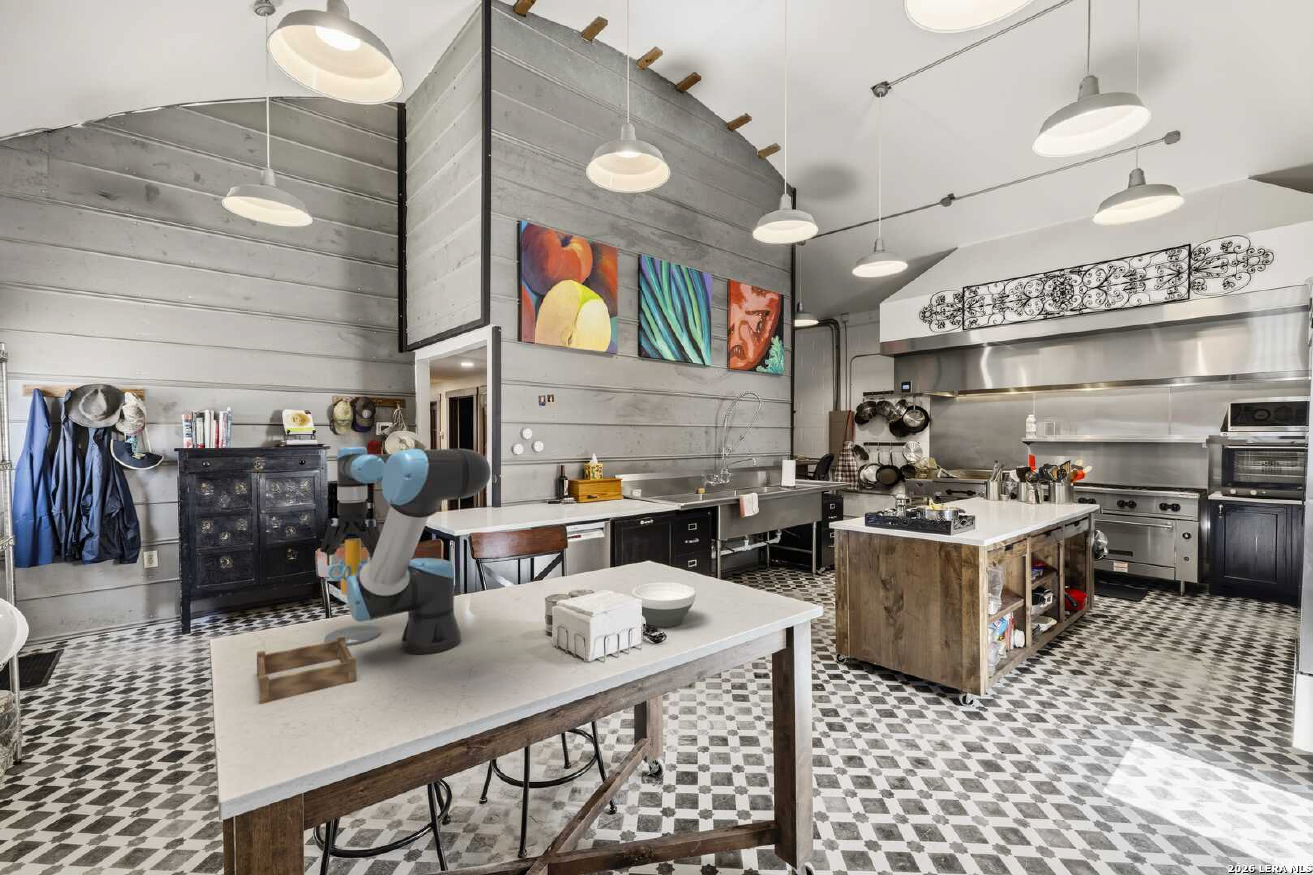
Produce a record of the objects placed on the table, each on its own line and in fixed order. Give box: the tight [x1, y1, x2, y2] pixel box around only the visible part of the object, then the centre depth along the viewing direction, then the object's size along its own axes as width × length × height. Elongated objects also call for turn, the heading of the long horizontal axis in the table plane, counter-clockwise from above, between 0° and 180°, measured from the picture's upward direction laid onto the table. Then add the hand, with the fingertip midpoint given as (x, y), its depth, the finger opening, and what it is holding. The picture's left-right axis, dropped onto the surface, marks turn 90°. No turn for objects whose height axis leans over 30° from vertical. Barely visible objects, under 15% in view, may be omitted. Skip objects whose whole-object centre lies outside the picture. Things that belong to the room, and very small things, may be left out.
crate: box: [256, 635, 357, 705], centre depth 132 cm, size 18×18×5 cm
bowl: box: [631, 582, 697, 628], centre depth 172 cm, size 20×20×10 cm
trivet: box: [324, 625, 381, 647], centre depth 159 cm, size 14×14×1 cm
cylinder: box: [327, 537, 368, 596], centre depth 159 cm, size 12×10×15 cm
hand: (352, 577), depth 159 cm, fingers closed on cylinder, 11 cm apart
